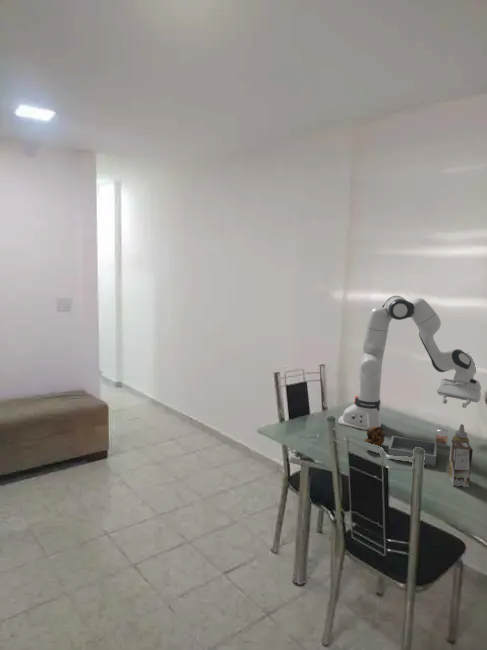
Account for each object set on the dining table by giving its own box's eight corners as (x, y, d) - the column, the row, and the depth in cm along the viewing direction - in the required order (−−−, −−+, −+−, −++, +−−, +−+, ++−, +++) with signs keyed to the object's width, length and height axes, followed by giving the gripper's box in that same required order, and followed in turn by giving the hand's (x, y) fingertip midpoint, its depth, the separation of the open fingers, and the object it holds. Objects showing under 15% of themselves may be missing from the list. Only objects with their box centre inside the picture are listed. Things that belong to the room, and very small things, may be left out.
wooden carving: (371, 454, 217) (372, 433, 215) (362, 451, 220) (363, 431, 218) (387, 444, 229) (388, 424, 227) (378, 441, 232) (379, 422, 230)
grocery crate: (387, 458, 212) (388, 448, 212) (391, 445, 227) (392, 435, 226) (435, 467, 205) (436, 456, 204) (436, 452, 219) (436, 442, 218)
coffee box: (469, 488, 187) (473, 449, 184) (452, 486, 188) (455, 448, 186) (463, 477, 196) (467, 440, 193) (447, 475, 197) (450, 439, 194)
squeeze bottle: (466, 460, 212) (469, 422, 209) (470, 468, 204) (474, 429, 201) (447, 458, 214) (450, 420, 211) (450, 466, 206) (454, 427, 203)
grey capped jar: (435, 446, 226) (436, 431, 225) (435, 442, 231) (436, 427, 229) (446, 448, 224) (448, 432, 223) (446, 444, 229) (448, 429, 227)
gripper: (440, 375, 244) (431, 397, 239) (482, 382, 230) (474, 406, 225) (442, 381, 248) (434, 403, 242) (484, 389, 234) (476, 412, 229)
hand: (454, 405), depth 233 cm, fingers open, 8 cm apart
